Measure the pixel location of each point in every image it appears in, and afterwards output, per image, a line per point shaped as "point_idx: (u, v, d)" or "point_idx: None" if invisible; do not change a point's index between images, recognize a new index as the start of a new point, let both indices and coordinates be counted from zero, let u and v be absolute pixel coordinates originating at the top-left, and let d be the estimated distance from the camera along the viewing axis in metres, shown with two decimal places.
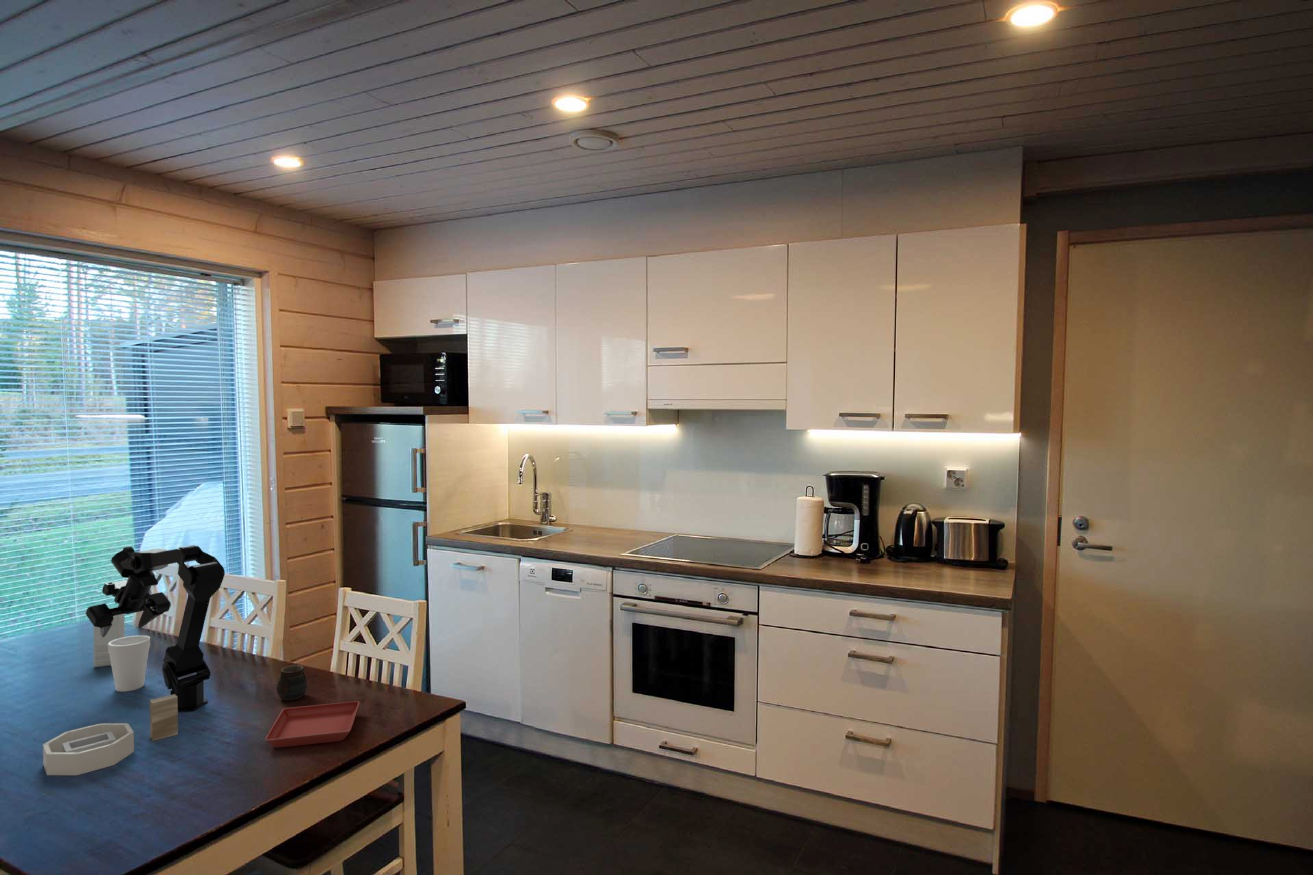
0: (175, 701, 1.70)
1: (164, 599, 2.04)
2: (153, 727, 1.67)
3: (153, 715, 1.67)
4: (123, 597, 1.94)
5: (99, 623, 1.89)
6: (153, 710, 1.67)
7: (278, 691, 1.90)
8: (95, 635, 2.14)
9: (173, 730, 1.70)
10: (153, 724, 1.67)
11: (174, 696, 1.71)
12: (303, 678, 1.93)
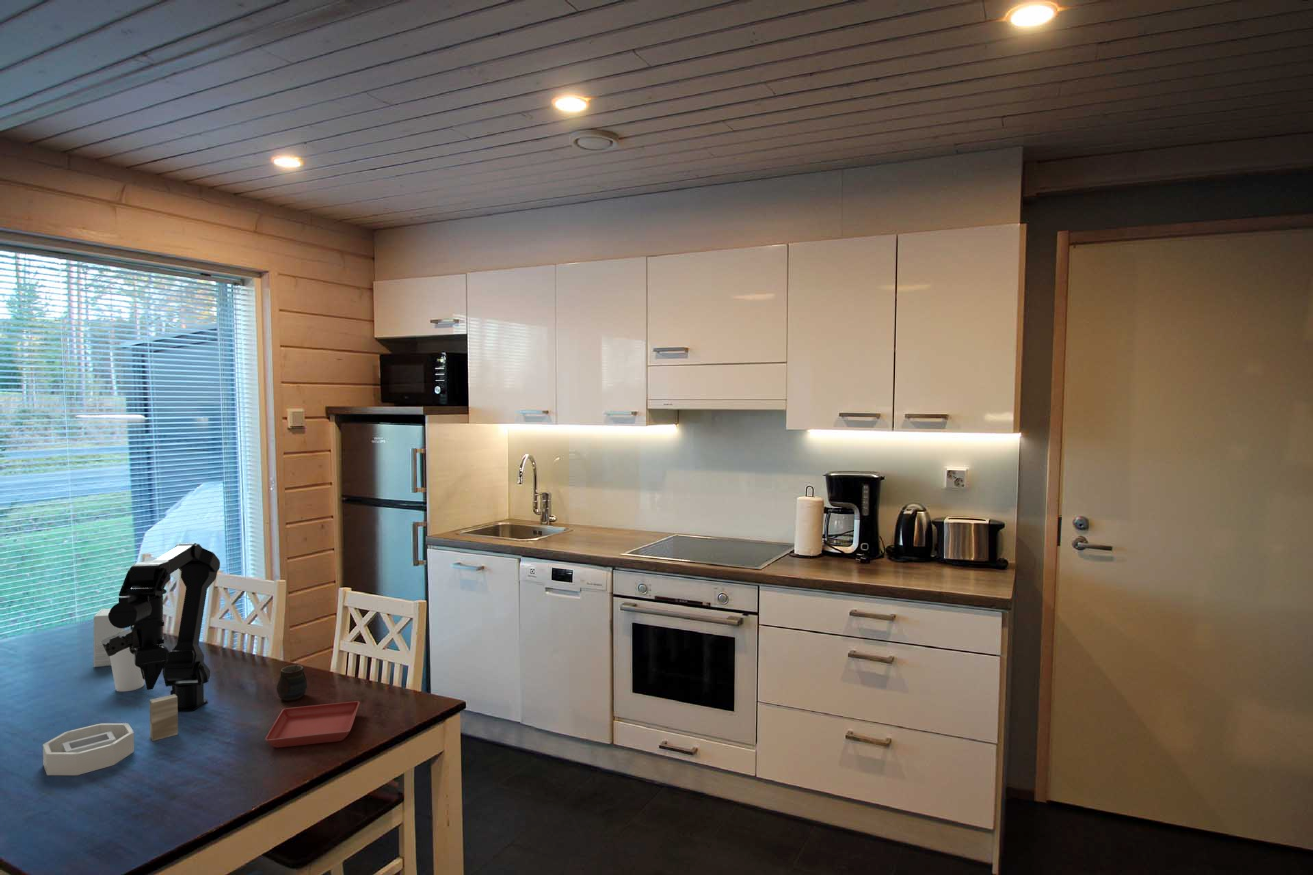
0: (175, 701, 1.70)
1: None
2: (153, 727, 1.67)
3: (153, 715, 1.67)
4: (149, 629, 1.66)
5: (168, 654, 1.63)
6: (153, 710, 1.67)
7: (278, 691, 1.90)
8: (95, 635, 2.14)
9: (173, 730, 1.70)
10: (153, 724, 1.67)
11: (174, 696, 1.71)
12: (303, 678, 1.93)
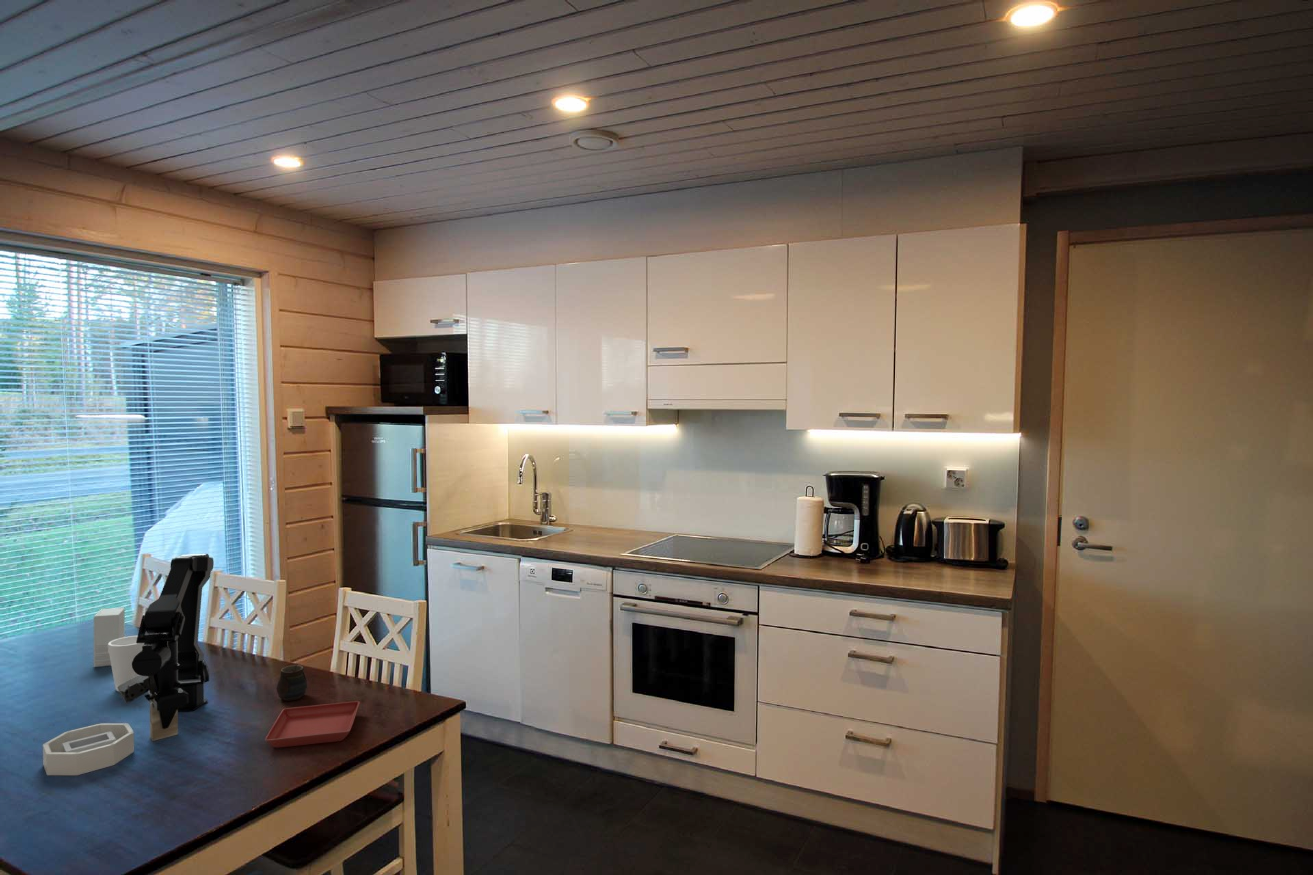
0: None
1: None
2: (153, 727, 1.67)
3: (153, 715, 1.67)
4: (166, 674, 1.67)
5: None
6: (153, 710, 1.67)
7: (278, 691, 1.90)
8: (95, 635, 2.14)
9: (173, 730, 1.70)
10: (153, 724, 1.67)
11: None
12: (303, 678, 1.93)
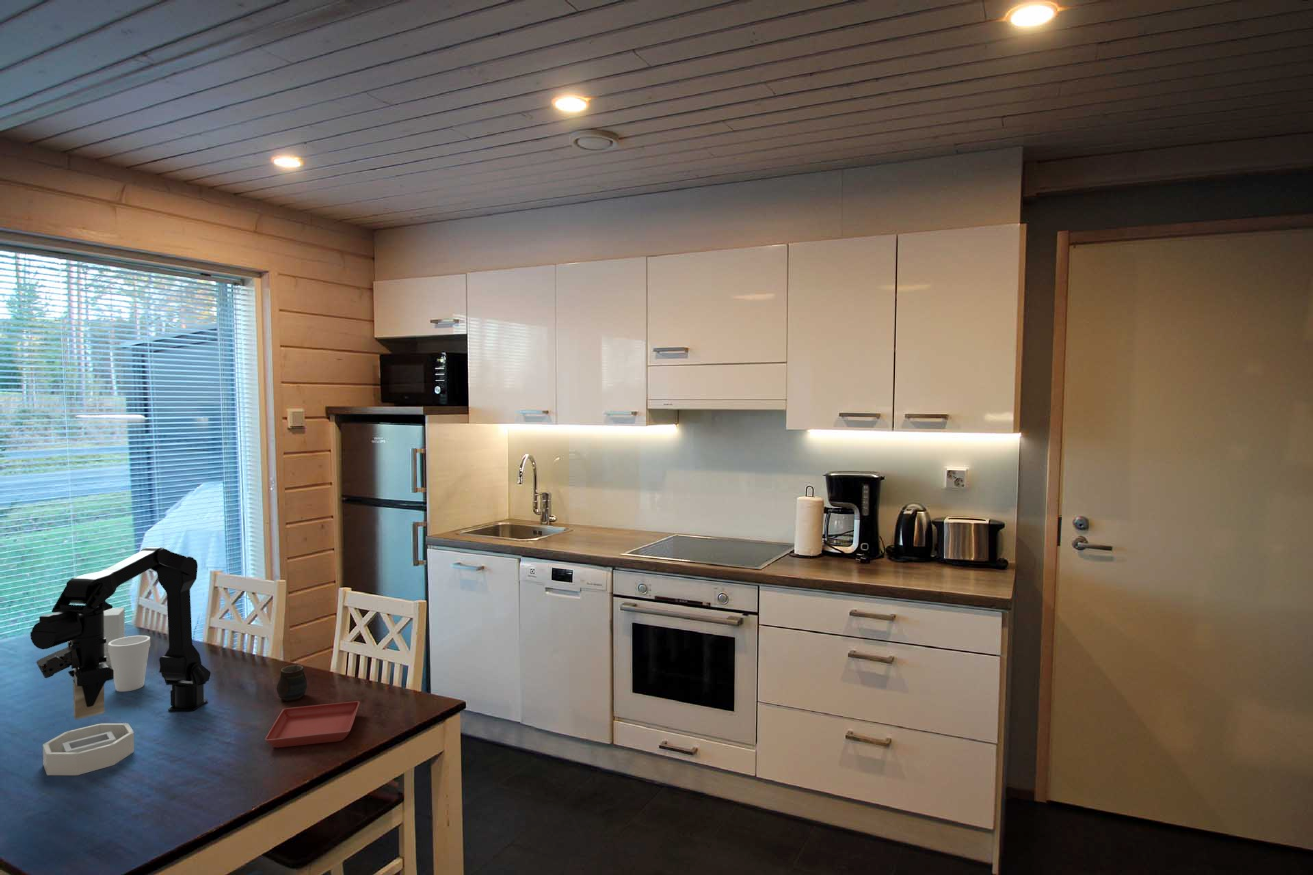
0: None
1: None
2: (76, 705, 1.56)
3: (76, 692, 1.56)
4: (90, 648, 1.56)
5: (113, 673, 1.54)
6: (76, 686, 1.56)
7: (278, 691, 1.90)
8: None
9: (99, 708, 1.59)
10: (76, 701, 1.56)
11: None
12: (303, 678, 1.93)
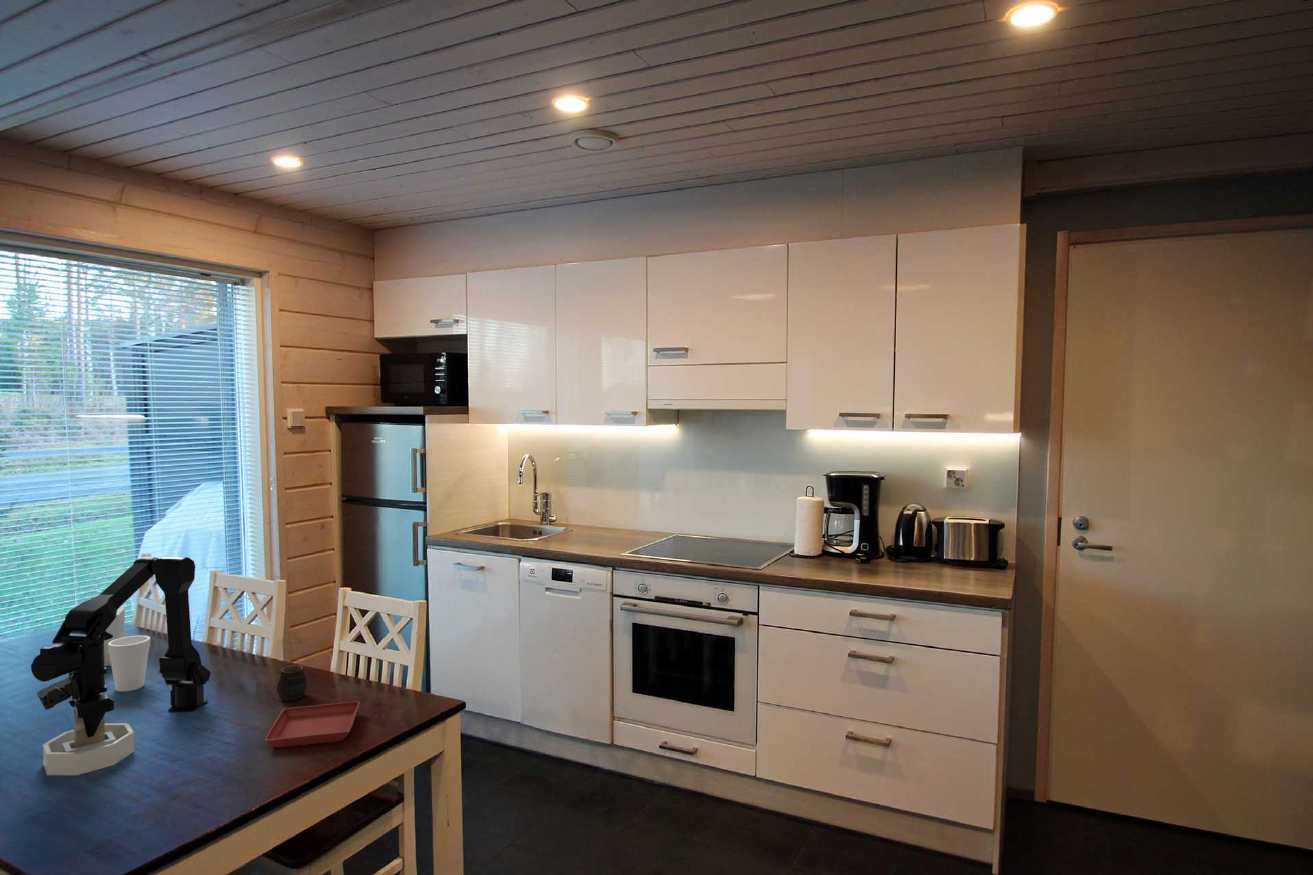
0: None
1: None
2: (77, 735, 1.56)
3: (76, 722, 1.56)
4: (90, 678, 1.56)
5: (113, 704, 1.54)
6: (76, 717, 1.56)
7: (278, 691, 1.90)
8: None
9: (99, 738, 1.59)
10: (77, 732, 1.56)
11: None
12: (303, 678, 1.93)
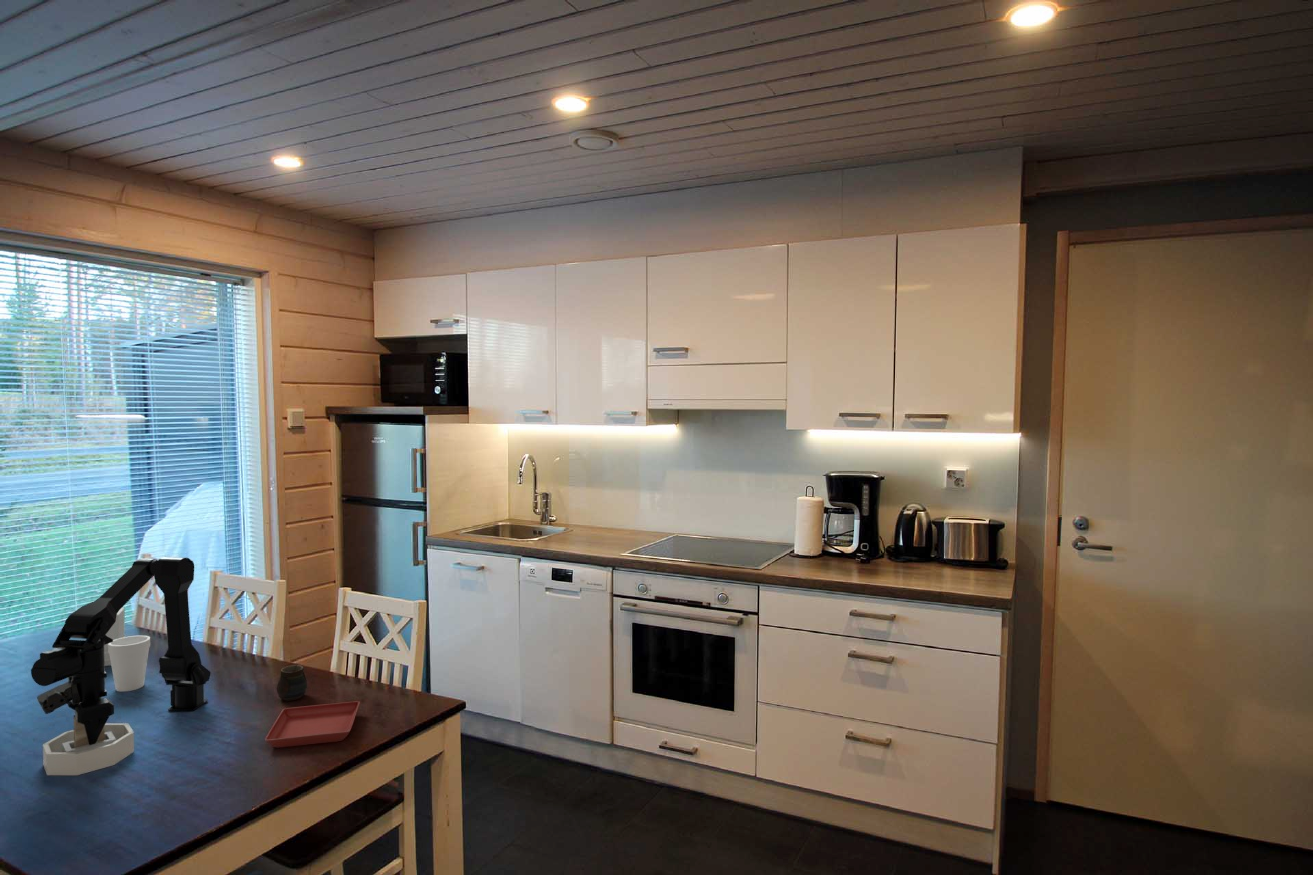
0: None
1: None
2: (76, 745, 1.56)
3: (76, 732, 1.56)
4: (90, 682, 1.56)
5: (113, 708, 1.54)
6: (76, 726, 1.56)
7: (278, 691, 1.90)
8: None
9: None
10: (76, 741, 1.56)
11: None
12: (303, 678, 1.93)
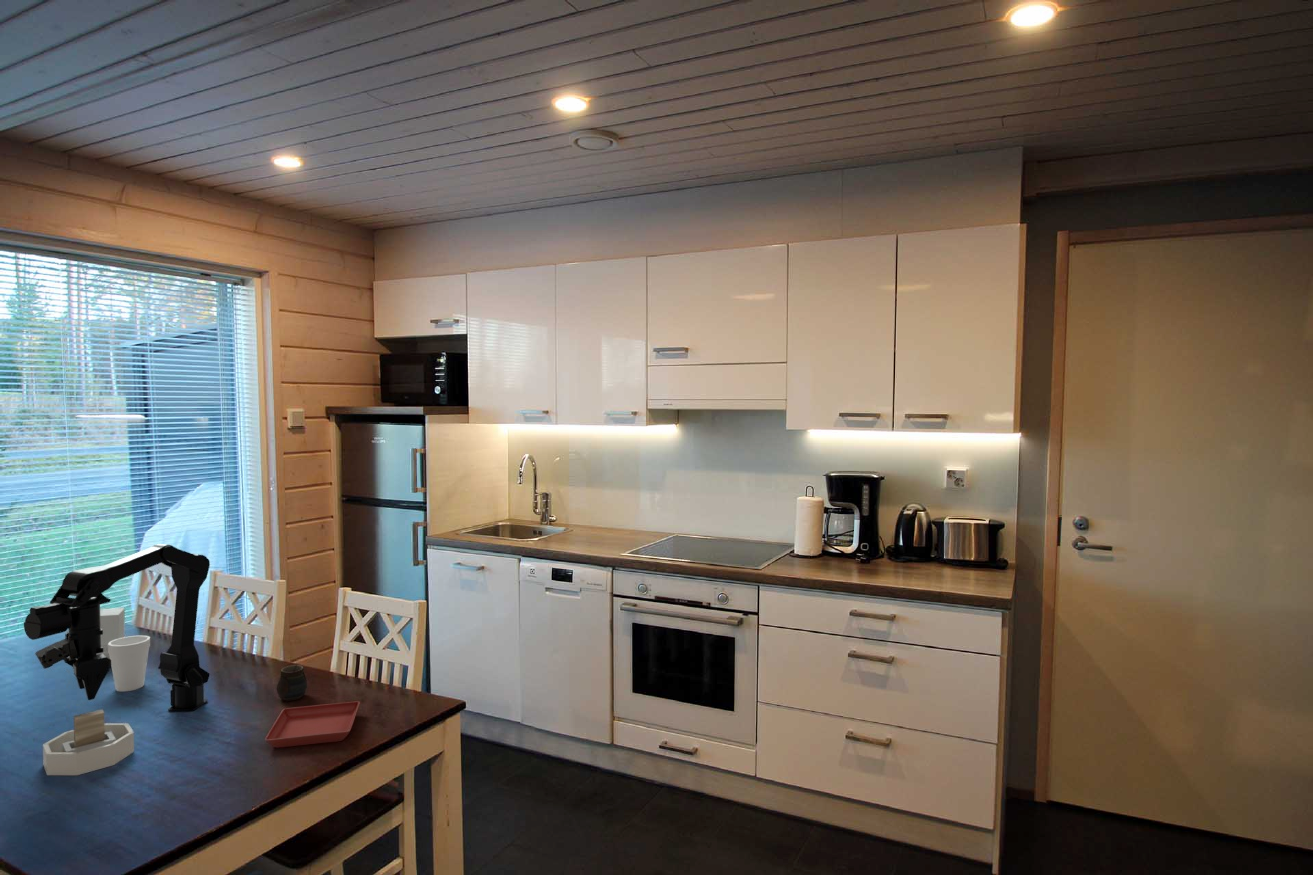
0: (102, 717, 1.59)
1: None
2: (77, 745, 1.56)
3: (77, 732, 1.56)
4: (87, 639, 1.61)
5: None
6: (77, 727, 1.56)
7: (278, 691, 1.90)
8: None
9: None
10: (77, 742, 1.56)
11: (101, 712, 1.59)
12: (303, 678, 1.93)
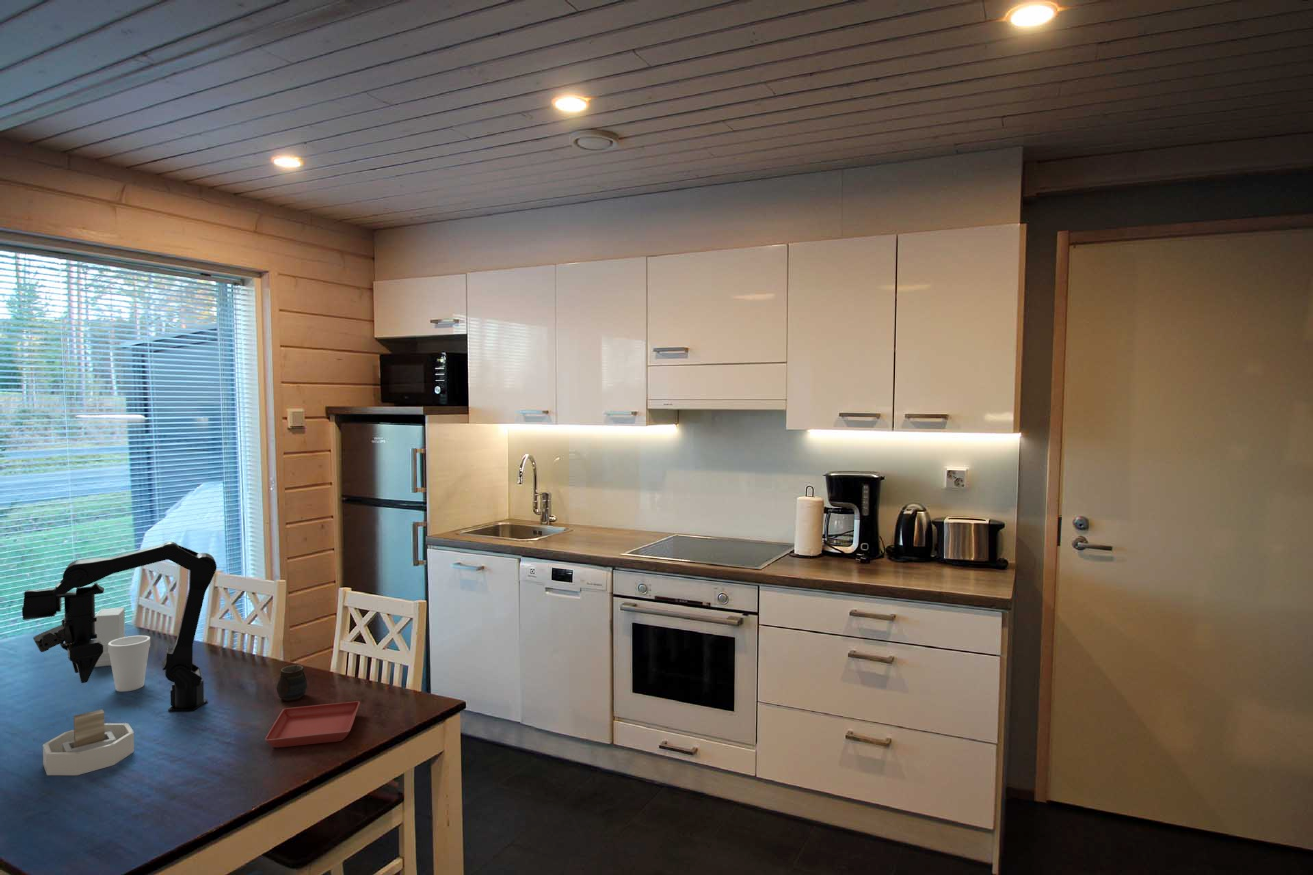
0: (102, 717, 1.59)
1: None
2: (77, 745, 1.56)
3: (77, 732, 1.56)
4: (82, 625, 1.71)
5: None
6: (77, 727, 1.56)
7: (278, 691, 1.90)
8: None
9: None
10: (77, 742, 1.56)
11: (101, 712, 1.59)
12: (303, 678, 1.93)
